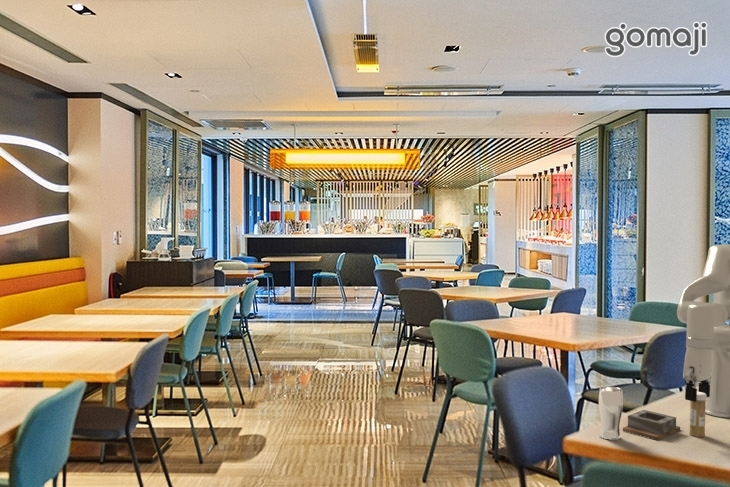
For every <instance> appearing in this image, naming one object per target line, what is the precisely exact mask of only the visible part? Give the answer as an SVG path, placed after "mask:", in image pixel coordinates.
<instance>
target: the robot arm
mask: <svg viewBox="0 0 730 487" xmlns="http://www.w3.org/2000/svg"><path fill="white" fill-rule="evenodd" d="M706 257H707V258H706V260H705V265H704V269H703V271H702V276H701V277H699V278H697V279H696V280H694V281H693V282H691V283H690V284H688V286H686V287H685V288H684V289H683V291H682V292H681V295H680V298H679V302H678V305H677V310H676V316H677V319H678V320H679V322H681V323H683V324H686V336H685V337H686V339H685V340H686V341H685V347H686V350H685V355H684V362H683V374H682V378H683V379H684V383H685V384H684V387H685V390H684V391H685V392H684V394H685V395H684V399H685V400H686V401H694V402H695V401H697V392H703V393H705V394H706V402H705V415H710V416H714V417H720V418H728V419H730V323H727V322H730V244H728V243H727V244H724V243H723V244H722V243H721V244H715V245H712V246H710V247H709V249H708V253H707V256H706ZM709 295H713V302H706V301H705V302H704V301H697V300H698V299H699V298H702V297H706V296H709ZM697 385H698V388H696V387H697Z"/></svg>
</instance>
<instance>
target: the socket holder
mask: <svg viewBox="0 0 730 487" xmlns="http://www.w3.org/2000/svg"><path fill="white" fill-rule="evenodd" d="M680 430H681V426H680V425H679V426H678V425H677V417H676V416H672V415H668V414H663V413H659V412H654V411H651V410H646V409H641V410H639V411H636V412H632V413H631V414H629V415H627V426H624V427H622V432H625V431H626V432H625V433H629V432H630V433H629V434H632V433H634V434H633V435H636V434H637V435H636V436H640V435H641V436H640V437H643V436H645V437H644V438H647V437H649V438H648V439H651V438H653V439H652V440H654V439H656V440H655V441H659V440H661V439H663V438H665V436H666V437H667V435H668V436H670V435H672V434H675V433H677V432H679V431H680ZM674 432H675V433H674ZM660 438H661V439H660ZM658 439H659V440H658Z"/></svg>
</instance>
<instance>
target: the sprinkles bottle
mask: <svg viewBox="0 0 730 487" xmlns="http://www.w3.org/2000/svg"><path fill="white" fill-rule="evenodd" d="M705 404H706V394H705V393H703V392H699V391H697V401H695V402H694V401H690V402H689V405H690V406H689V430H688V434H689V435H690V436H692V437H696V438H703V437H705V436H706V434H705V430H706V413H705Z"/></svg>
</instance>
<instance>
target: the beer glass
mask: <svg viewBox="0 0 730 487" xmlns="http://www.w3.org/2000/svg"><path fill="white" fill-rule="evenodd" d="M623 395H624V394H623V389H622V388H620V387H615V386H610V385H609V386H607V385H606V386H604V385H603V386H600V387H599V394H598V410H599V418H600V430H599V434H598V435H599V437H600V438H601V437H602V438H601V439H603V438H604V440H606V439H609V440H608V441H619V440H620V439H621V432H620V423H621V417H622V414H623V408H624V405H623V404H624V397H623ZM618 439H619V440H618Z"/></svg>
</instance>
